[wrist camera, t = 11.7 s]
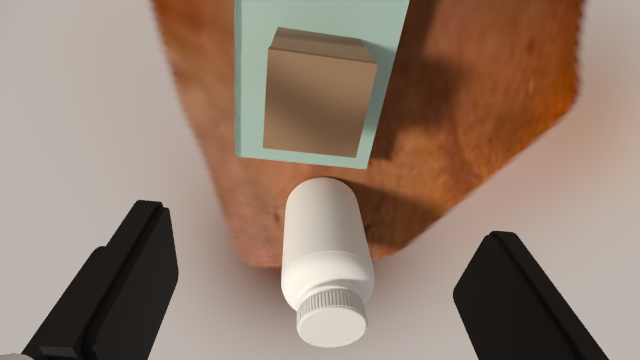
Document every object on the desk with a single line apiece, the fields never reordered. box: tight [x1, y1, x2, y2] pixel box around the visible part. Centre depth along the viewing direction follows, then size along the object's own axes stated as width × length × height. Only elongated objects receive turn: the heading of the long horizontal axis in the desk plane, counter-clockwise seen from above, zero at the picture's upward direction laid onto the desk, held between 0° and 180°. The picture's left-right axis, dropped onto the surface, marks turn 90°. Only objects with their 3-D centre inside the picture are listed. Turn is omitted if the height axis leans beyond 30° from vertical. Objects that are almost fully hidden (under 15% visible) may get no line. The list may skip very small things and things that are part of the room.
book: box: [234, 0, 410, 169], centre depth 27 cm, size 12×16×4 cm
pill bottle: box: [281, 177, 375, 348], centre depth 31 cm, size 8×8×15 cm
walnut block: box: [263, 27, 378, 158], centre depth 23 cm, size 6×6×7 cm
